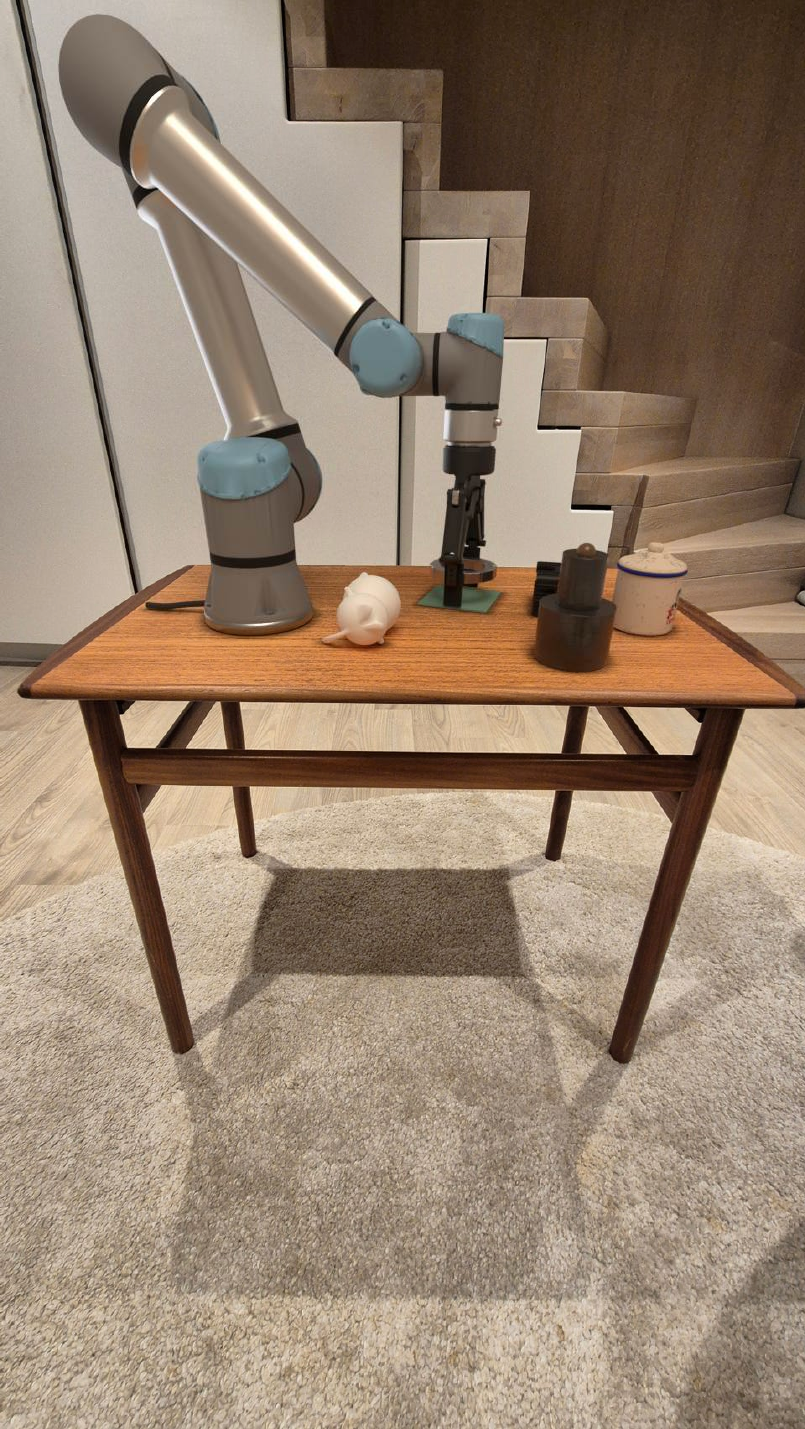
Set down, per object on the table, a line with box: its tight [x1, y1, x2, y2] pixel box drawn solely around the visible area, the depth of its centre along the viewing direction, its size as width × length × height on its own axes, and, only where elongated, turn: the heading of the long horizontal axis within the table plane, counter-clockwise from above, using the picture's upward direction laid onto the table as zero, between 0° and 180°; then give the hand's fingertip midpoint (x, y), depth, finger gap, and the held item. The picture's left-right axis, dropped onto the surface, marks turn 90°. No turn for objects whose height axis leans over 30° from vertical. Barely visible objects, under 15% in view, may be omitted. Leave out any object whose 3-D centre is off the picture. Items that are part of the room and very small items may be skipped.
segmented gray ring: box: [429, 557, 498, 584], centre depth 94 cm, size 10×10×2 cm
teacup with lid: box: [611, 541, 689, 637], centre depth 84 cm, size 12×9×12 cm
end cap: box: [531, 560, 561, 618], centre depth 91 cm, size 10×7×7 cm
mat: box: [416, 584, 502, 614], centre depth 96 cm, size 11×11×1 cm
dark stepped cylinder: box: [532, 542, 617, 673], centre depth 72 cm, size 9×9×14 cm
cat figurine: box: [321, 571, 402, 646], centre depth 79 cm, size 9×11×12 cm
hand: (461, 595), depth 96 cm, fingers closed on segmented gray ring, 10 cm apart
